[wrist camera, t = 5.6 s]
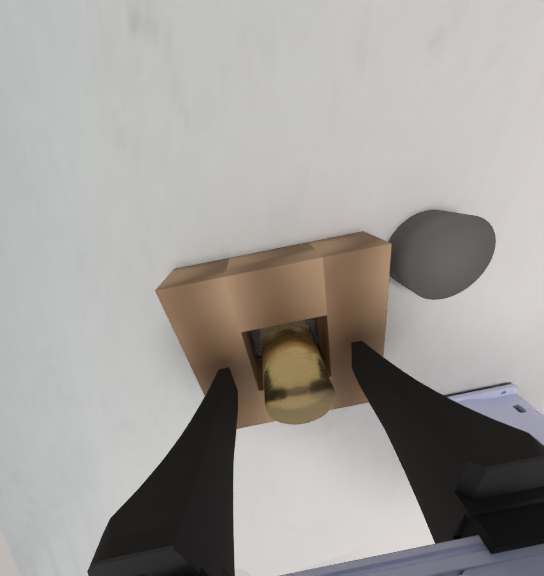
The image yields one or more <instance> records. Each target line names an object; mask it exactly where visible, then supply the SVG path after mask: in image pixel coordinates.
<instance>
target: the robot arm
mask: <svg viewBox="0 0 544 576" xmlns="http://www.w3.org/2000/svg"><path fill="white" fill-rule="evenodd" d="M351 351H352V370H353V372H354V375H355V377H356V379H357V381H358V383H359V386H360V387H361V389H362V391H363V393H364V394H365V396H366V398H367V399H368V401H369V403H370V405H371V406H372V408H373V410H374V411H375V413H376V415H377V416H378V418H379V420H380V422H381V423H382V425H383V427H384V429H385V431H386V433H387V435H388V437H389V439H390V441H391V443H392V445H393V447H394V449H395V451H396V454H397V456H398V458H399V460H400V462H401V465H402V467H403V469H404V471H405V473H406V476H407V478H408V480H409V482H410V485H411V487H412V489H413V492H414V494H415V496H416V498H417V501H418V503H419V506H420V508H421V510H422V513H423V515H424V517H425V520H426V522H427V525H428V527H429V529H430V532H431V534H432V536H433V539H434V542H435V544H433V545H427V546H422V547H418V548H413V549H408V550H403V551H398V552H394V553H388V554H383V555H378V556H373V557H369V558H364V559H359V560H354V561H349V562H344V563H340V564H335V565H329V566H325V567H320V568H315V569H310V570H306V571H301V572H295V573H290V574H285V575H281V576H544V415H542V414H541V413H540V412H539V411H537V410H536V409H535V408H533V407H532V406H531V405H530V404H528V403H527V402H526V401H525V400H523V399H522V398H521V397H520V396H518V395H517V394H516V393H517V391H518V387H517V386H515V385H514V384H509V385H504V386H499V387H494V388H489V389H484V390H479V391H474V392H469V393H464V394H459V395H454V396H449V397H445V396H443V395H441V394H440V393H438V392H436V391H434V390H432V389H431V388H429V387H427V386H425V385H424V384H422V383H420V382H419V381H417V380H415V379H414V378H412V377H411V376H409V375H408V374H406V373H405V372H403V371H402V370H400V369H399V368H397V367H396V366H395V365H393V364H392V363H390V362H389V361H388V360H386V359H385V358H384V357H382V356H381V355H380V354H378V353H377V352H376V351H375V350H373V349H372V348H371V347H369V346H368V345H367V344H366V343H364V342H363V341H357V342H352V343H351ZM237 417H238V390H237V387H236V384H235V382H234V379H233V376H232V373H231V371H230V368H229V367H228V368H223V369H219V370H218V371H217V373H216V375H215V377H214V380H213V382H212V384H211V386H210V388H209V389H208V391H207V393H206V395H205V397H204V399H203V401H202V403H201V404H200V406H199V408H198V410H197V411H196V413H195V415H194V416H193V418H192V420H191V421H190V423H189V424H188V426H187V427H186V429H185V430H184V432H183V433H182V435H181V436H180V438H179V439H178V441H177V442H176V443H175V445H174V446H173V447H172V449H171V450H170V451H169V453H168V454H167V455H166V457H165V458H164V459H163V461H162V462H161V463H160V464H159V465H158V467H157V468H156V469H155V470H154V471H153V473H152V474H151V475H150V476H149V477H148V478H147V480H146V481H145V482H144V483H143V484H142V485H141V487H140V488H139V489H138V490H137V491H136V492H135V493H134V494H133V495H132V496H131V497H130V498H129V499H128V500H127V502H126V503H125V504H124V505H123V506H122V507H121V508H120V509H119V510H118V511H117V512H116V513H115V514H114V515H113V516H112V517H111V518H110V520H109V522H108V524H107V526H106V529H105V531H104V533H103V535H102V538H101V540H100V543H99V545H98V547H97V550H96V552H95V555H94V557H93V560H92V562H91V564H90V567H89V569H88V575H89V576H235V573H234V572H235V571H234V538H233V461H234V448H235V438H236V428H237Z"/></svg>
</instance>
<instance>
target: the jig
mask: <svg viewBox="0 0 544 576" xmlns="http://www.w3.org/2000/svg"><path fill="white" fill-rule="evenodd" d="M391 245H392V244H391V243H389V242H387V241H384V240H382V239H380V238H377V237H375V236H373V235H370V234H368V233H366V232H359V233H354V234H348V235H343V236H338V237H333V238H328V239H323V240H318V241H313V242H308V243H303V244H298V245H293V246H288V247H283V248H278V249H273V250H268V251H263V252H258V253H253V254H248V255H243V256H238V257H233V258H228V259H223V260H218V261H213V262H208V263H203V264H198V265H193V266H188V267H183V268H178V269H174V270H173V271H172V272H171V273H170V274H169V276H168V277H167V278H166V279H165V280H164V281H163V282H162V283H161V285H160V286H159V287H158V288H157V289H156V290H155V292H156V294H157V296H158V298H159V300H160V302H161V304H162V306H163V308H164V311H165V313H166V315H167V317H168V319H169V321H170V323H171V325H172V327H173V330H174V332H175V334H176V336H177V338H178V340H179V342H180V344H181V346H182V349H183V351H184V353H185V355H186V357H187V359H188V361H189V363H190V365H191V368H192V370H193V372H194V374H195V376H196V378H197V380H198V382H199V384H200V387H201V389H202V391H203V393H204V395H206V393H207V391H208V389H209V388H210V386H211V384H212V382H213V380H214V377H215V375H216V373H217V371H218V370H219V369H223V368H228V367H229V368H230V371H231V373H232V376H233V379H234V382H235V384H236V387H237V390H238V417H237V428H236V429H238V428H243V427H248V426H253V425H258V424H263V423H268V422H273V421H276V420H274V419H273V418H271V417H270V416H269V415H268V413H267V412H266V409H265V401H264V385H263V368H262V358H258V359H257V355H256V352H255V348H254V345H253V341H252V337H251V334H250V330H255V329H260V328H265V327H270V326H275V325H280V324H285V323H290V322H295V321H300V320H305V319H310V318H315V317H316V323H317V332H318V342H319V346H317V348H318V350H319V353H320V355H321V358H322V360H323V363H324V365H325V368H326V370H327V373H328V375H329V377H330V380H331V382H332V385H333V387H334V390H335V394H336V398H335V402H334V404H333V406H332V408H331V409H330V410H332V409H337V408H342V407H347V406H352V405H357V404H362V403H367V402H369V401H368V399H367V398H366V396H365V394H364V393H363V391H362V389H361V387H360V386H359V383H358V381H357V379H356V377H355V375H354V372H353V370H352V351H351V343H352V342H357V341H363V342H364V343H366V344H367V345H368V346H369V347H371V348H372V349H373V350H375V351H376V352H377V353H378V354H380V355H381V356H382V357H383V353H384V340H385V326H386V313H387V299H388V286H389V272H390V259H391Z"/></svg>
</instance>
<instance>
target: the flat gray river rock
mask: <svg viewBox="0 0 544 576" xmlns="http://www.w3.org/2000/svg"><path fill="white" fill-rule="evenodd" d="M389 243H391V244H392V245H391V259H390V272H389V274H390V276H391V277H392V278H393V279H395V280H396V281H398V282H399V283H401V284H402V285H404V286H405V287H407V288H408V289H410V290H411V291H413V292H414V293H416V294H417V295H419V296H420V297H423V298H426V299H432V300H436V299H444V298H448V297H451V296H453V295H456V294H458V293H460V292H461V291H463V290H465V289H466V288H468V287H469V286H470V285H471V284H473V283H474V282H475V281H476V280H477V279H478V278H479V277H480V276H481V275H482V273H483V272H484V271H485V269H486V268H487V266H488V265H489V263H490V261H491V259H492V256H493V253H494V250H495V243H496V240H495V233H494V230H493V228H492V226H491V225H490V223H489V222H487V221H486V220H485V219H483V218H481V217H478V216H473V215H467V214H460V213H453V212H447V211H440V210H428V211H424V212H420V213H418V214H416V215H414V216H412V217H410V218H409V219H407V220H406V221H405V222H404V223H402V224H401V225H400V226H399V227H398V228H397V230H396V231H395V232H394V233H393V235H392V237H391V238H390V240H389Z"/></svg>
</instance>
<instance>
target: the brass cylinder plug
mask: <svg viewBox="0 0 544 576" xmlns="http://www.w3.org/2000/svg"><path fill="white" fill-rule="evenodd" d="M260 335H261V352H262V368H263V385H264V401H265V409H266V412H267V413H268V415H269V416H270V417H271V418H273V419H274V420H276V421H278V422H281V423H285V424H303V423H308V422H311V421H314V420H316V419H318V418H320V417H322V416H323V415H325V414H326V413H327V412H328V411H329V410H330V409H331V408H332V406H333V404H334V402H335V398H336V394H335V390H334V387H333V385H332V382H331V380H330V377H329V375H328V373H327V370H326V368H325V365H324V363H323V360H322V358H321V355H320V353H319V350H318V348H317V345H316V343H315V340H314V338H313V335H312V333H311V330H310V328H309V325H308V323H307V320H306V319H305V320H300V321H295V322H290V323H285V324H280V325H275V326H270V327H265V328H260Z"/></svg>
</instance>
